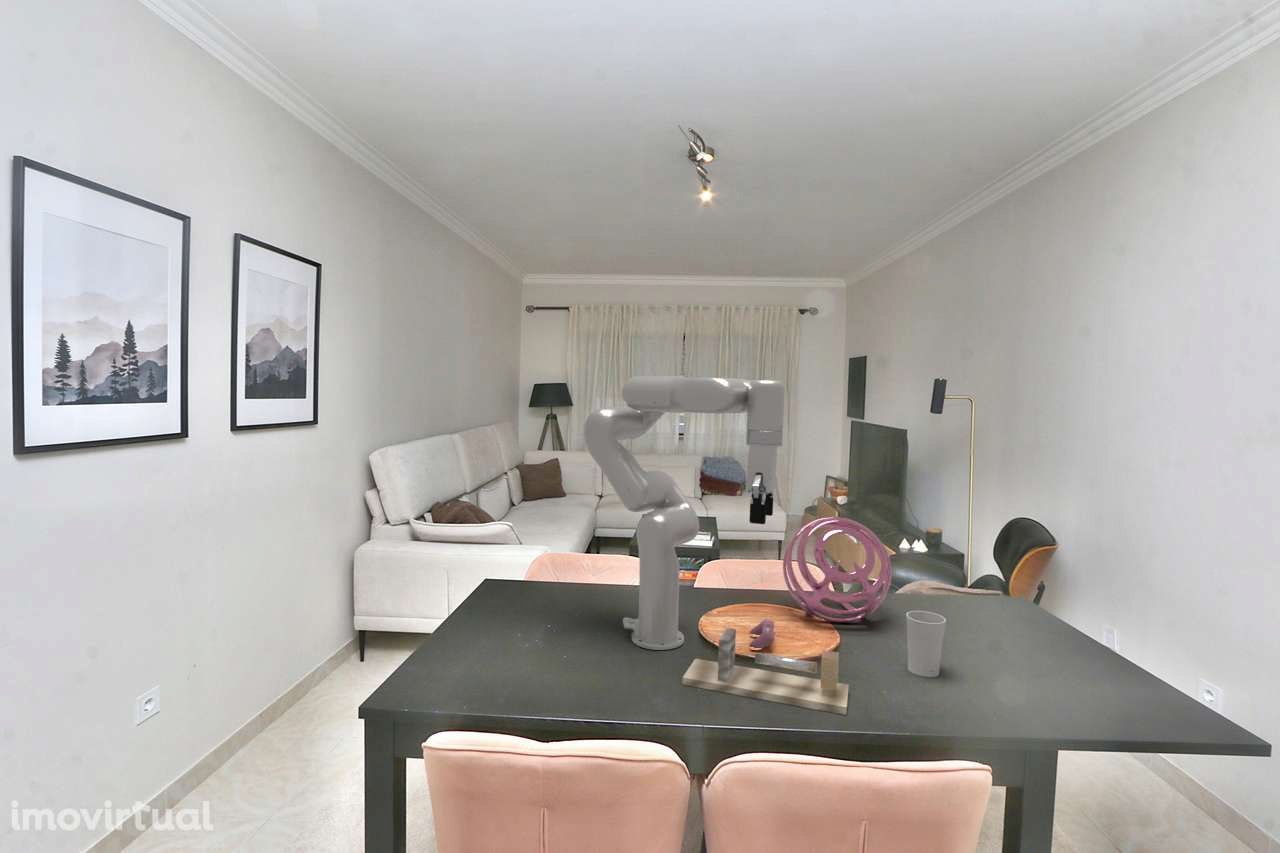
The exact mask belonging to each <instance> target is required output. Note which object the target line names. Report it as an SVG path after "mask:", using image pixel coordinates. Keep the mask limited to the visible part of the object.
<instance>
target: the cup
mask: <svg viewBox="0 0 1280 853" xmlns="http://www.w3.org/2000/svg"><path fill="white" fill-rule="evenodd" d="M905 618H906V619H905V621H906V641H907V644H906V645H907V670H908V671H909V672H910V673H912V674H913V675H917V676H919V677H923V678H924V677H925V678H935V677H938V676H940V665H941V664H940V663H941V656H942V649H943V641H944V636H945V632H946V625H947V619H946V618H945V617H944V616H942V615H941V614H937V613H935V612H931V611H927V610H924V611H923V610H912V611H908V612H906V613H905Z"/></svg>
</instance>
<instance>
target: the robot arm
mask: <svg viewBox="0 0 1280 853" xmlns="http://www.w3.org/2000/svg"><path fill="white" fill-rule="evenodd" d="M621 398H622V400H623V402H624V404H625V405H626V406H606V407H599V408H597V409H595V410H593V411H592V412H590V413H589V415H588V416H587V418H586V420H585V423H584V426H583V427H584V428H583V436H584V438H583V439H584V443H585V446H586V448H587V451H588V452H589V454H590V456H591V457H592V459H593V460H594V461H595V463H596V464H597V465H598V467H599V468H600V469H601V471H602V472H603V473H604V475H605V477H606V478H607V481H608V483H609V484H610V486H611V487H612V489H613V490H614V492H615V493H616V495H617V496H618V499H619V500H620V501H621V504H623V506H624V507H625V508H626V509H627V510H628V511H630V512H632V513H640V512H645V511H646V512H647V511H648V512H647V513H645V514H644V515H642V516H641V517H640V518H639V520H638V522H637V525H636V530H635V532H636V533H635V534H636V540H637V547H638V556H639V574H638V576H639V585H638V586H639V588H638V592H639V593H638V617H636V618H632V617H626V616H625V617H623V619H622V625H623V628H624V629H627V630H632V632H631V641H632V643H633V644H635V645H636V646H638V647H641V648H643V649H647V650H654V651H665V650H666V651H667V650H668V651H669V650H673V649H677V648H678V647H680V646H682V645H683V644H684V643H685V635H684V634H683V632H681V631H680V630H679V600H680V563H679V559H678V556H677V553H676V549H675V548H676V547H678V546H680V545H684V544H687V543H689V542H691V541H693V540H695V538H696V537H697V536H698V534H699V531H700V520H699V517H698V514H697V512H696V511H695V508H694V507H693V506H692V504H691V503H690V501H689V500H688V499H687V497H686V496H685V494H684V492H683V491H682V490H681V488H680V487H679V485H678V484H677V483H676V480H674V479H673V478H672V477H671V475H669V474H667V473H666V472H664V471H661V470H650V471H649V470H647V471H646V470H644V469H643V468H642V466H641V465H640V464H639V462H638V461H637V459H636V457H635V456H634V454H632V452H631V451H630V450H629V449H627V448H626V447H625V446H623V445H622V443H620V442H619V441H625V440H626V441H627V440H635V439H638V438H641V437H642V436H643V435H644V434H646V433H647V432H648V431H649V430H650V429H651V428H652V427H653V426H654V424H656V423H657V422H658V420H660V419H661V418H662V417H663V415H664V414H665V413H676V414H679V413H680V414H683V413H693V414H694V413H698V414H713V415H714V414H716V415H717V414H719V415H720V414H744V413H747V414H746V434H745V436H746V437H745V438H746V439H745V440H746V441H745V444H746V446H748V447H749V450H748V459H747V469H746V470H747V472H746V483H745V491H746V493H748V494H750V493H751V496H750V503H749V523H750V524H755V525H756V524H757V525H765V524H766V520H767V516H770V517H772V516H773V515H774V514H773V513H774V491H773V490H774V489H775V486H776V483H777V482H776V479H777V459H778V458H777V457H778V448H781V447H783V438H784V436H783V435H784V414H785V412H784V409H785V385H784V383H783V382H782V381H781V380H777V379H775V380H774V379H754V380H749V379H745V378H732V377H731V378H729V377H685V376H684V375H638V376H637V375H636V376H633V377H631V378H629V379H628V380H626V381H625V383H624V384H623V386H622V388H621Z"/></svg>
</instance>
